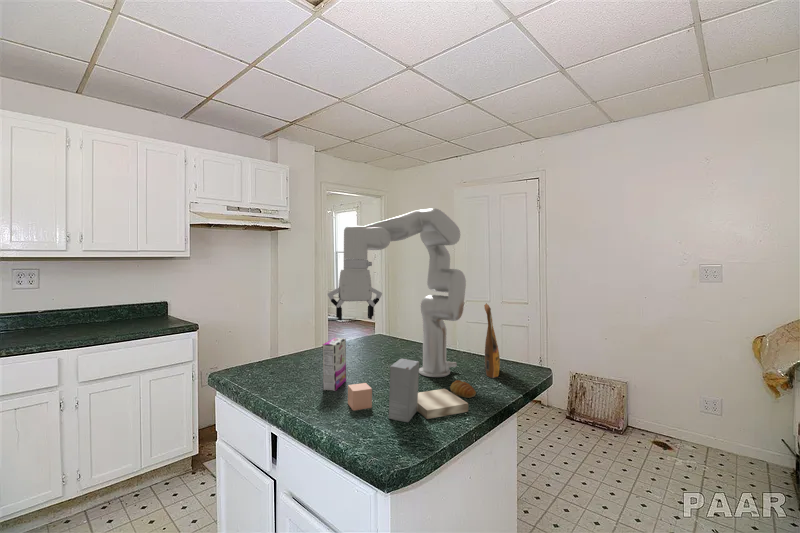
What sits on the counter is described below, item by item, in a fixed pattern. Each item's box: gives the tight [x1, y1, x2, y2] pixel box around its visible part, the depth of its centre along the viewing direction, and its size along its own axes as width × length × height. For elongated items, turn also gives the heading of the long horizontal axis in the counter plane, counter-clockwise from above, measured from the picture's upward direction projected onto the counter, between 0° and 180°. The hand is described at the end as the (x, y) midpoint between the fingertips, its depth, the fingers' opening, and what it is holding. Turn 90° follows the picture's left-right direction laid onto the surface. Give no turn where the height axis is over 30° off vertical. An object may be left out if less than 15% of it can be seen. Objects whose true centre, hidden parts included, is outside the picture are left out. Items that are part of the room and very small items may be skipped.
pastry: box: [449, 379, 477, 399], centre depth 128 cm, size 9×7×4 cm
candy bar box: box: [322, 337, 347, 392], centre depth 135 cm, size 11×5×16 cm, turn 168°
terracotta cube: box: [347, 382, 373, 411], centre depth 117 cm, size 6×6×6 cm
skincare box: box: [388, 358, 420, 423], centre depth 110 cm, size 8×7×16 cm
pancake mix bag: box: [484, 302, 501, 379], centre depth 153 cm, size 7×19×28 cm, turn 164°
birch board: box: [417, 388, 469, 420], centre depth 117 cm, size 14×14×2 cm
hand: (355, 319), depth 118 cm, fingers open, 9 cm apart
